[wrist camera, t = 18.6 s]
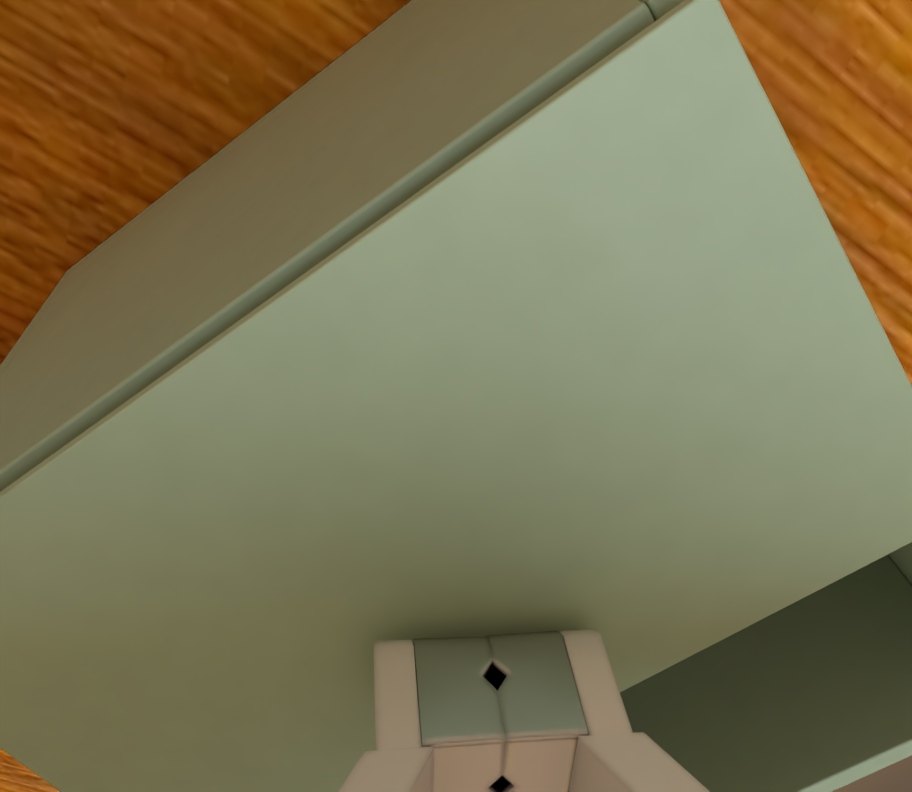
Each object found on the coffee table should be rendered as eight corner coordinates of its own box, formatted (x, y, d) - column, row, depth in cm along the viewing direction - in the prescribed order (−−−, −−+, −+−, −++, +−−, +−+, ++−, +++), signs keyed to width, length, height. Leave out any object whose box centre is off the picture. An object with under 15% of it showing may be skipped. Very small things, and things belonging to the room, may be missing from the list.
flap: (-162, 607, 11) (-176, 623, 11) (703, -16, 8) (713, -14, 8) (217, 885, 14) (213, 902, 14) (961, 497, 11) (974, 510, 11)
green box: (66, 270, 20) (-155, 583, 11) (517, -84, 17) (689, -31, 8) (427, 609, 28) (463, 959, 19) (789, 401, 25) (1033, 700, 16)
